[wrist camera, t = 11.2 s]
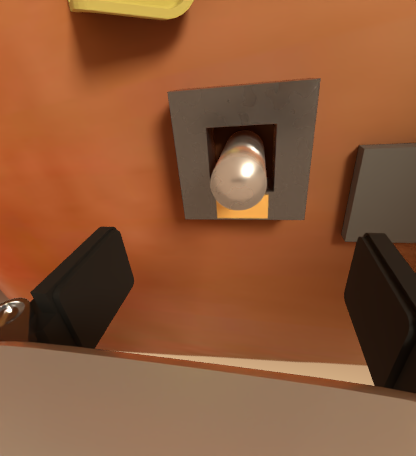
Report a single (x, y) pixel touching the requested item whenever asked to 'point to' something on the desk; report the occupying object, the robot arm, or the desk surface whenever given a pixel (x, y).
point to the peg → (240, 172)
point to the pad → (383, 193)
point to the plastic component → (133, 7)
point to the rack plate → (241, 116)
